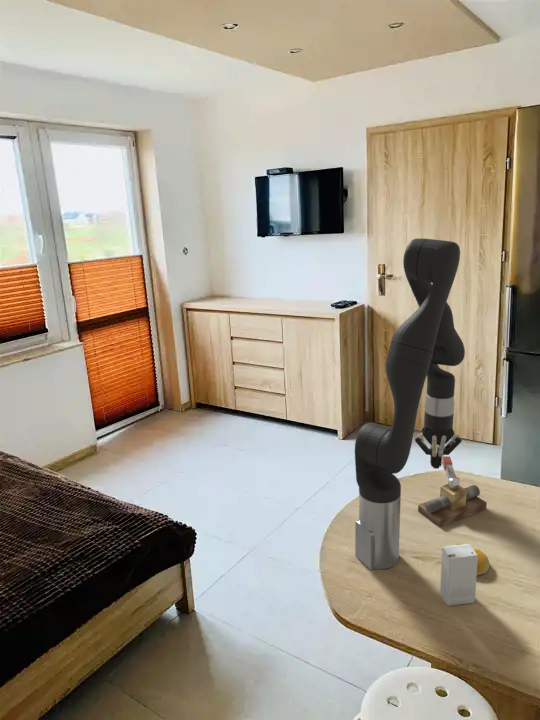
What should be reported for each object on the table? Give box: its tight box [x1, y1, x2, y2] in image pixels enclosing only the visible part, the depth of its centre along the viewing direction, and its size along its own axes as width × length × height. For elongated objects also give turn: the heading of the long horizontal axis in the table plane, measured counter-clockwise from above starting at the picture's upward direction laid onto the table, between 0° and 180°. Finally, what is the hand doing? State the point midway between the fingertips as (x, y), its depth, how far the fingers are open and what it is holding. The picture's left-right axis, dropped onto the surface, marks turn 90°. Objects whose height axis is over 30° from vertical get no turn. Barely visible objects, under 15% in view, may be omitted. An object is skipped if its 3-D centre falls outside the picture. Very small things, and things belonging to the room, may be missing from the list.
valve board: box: [417, 483, 488, 528], centre depth 147 cm, size 16×8×7 cm, turn 116°
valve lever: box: [442, 455, 461, 489], centre depth 151 cm, size 13×3×2 cm, turn 172°
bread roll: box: [456, 543, 490, 576], centre depth 128 cm, size 8×9×4 cm
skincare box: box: [439, 543, 478, 607], centre depth 116 cm, size 6×4×12 cm
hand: (435, 467), depth 156 cm, fingers closed
